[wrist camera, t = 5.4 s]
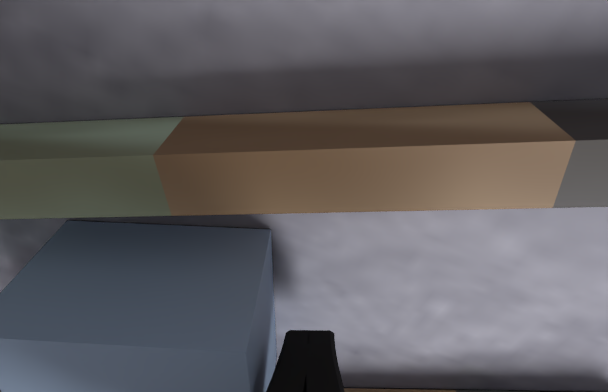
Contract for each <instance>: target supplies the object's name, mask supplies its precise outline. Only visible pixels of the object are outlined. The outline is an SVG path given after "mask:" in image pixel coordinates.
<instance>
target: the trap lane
mask: <svg viewBox="0 0 608 392" xmlns="http://www.w3.org/2000/svg"><path fill="white" fill-rule="evenodd" d="M571 207H608V99H587V100H564V101H540V102H517V103H493V104H470V105H446V106H423V107H399V108H376V109H352V110H329V111H305V112H282V113H258V114H235V115H211V116H188V117H164V118H141V119H117V120H94V121H70V122H47V123H23V124H0V219H42V218H90V217H138V216H186V215H234V214H282V213H330V212H378V211H426V210H475V209H523V208H571ZM344 391H345V392H538V391H478V390H418V389H358V388H344ZM0 392H1V390H0Z"/></svg>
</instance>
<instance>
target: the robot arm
mask: <svg viewBox="0 0 608 392" xmlns="http://www.w3.org/2000/svg"><path fill="white" fill-rule="evenodd" d="M266 392H345V391H344V387H343V384H342V380H341V375H340V371H339V367H338V362H337V356H336V350H335V341H334V333H333V332H331V331H308V330H290V331H288V332H287V333H286V335H285V339H284V343H283V347H282V350H281V353H280V356H279V359H278V362H277V365H276V368H275V370H274V373H273V376H272V378H271V381H270V383H269V385H268V388H267V390H266Z"/></svg>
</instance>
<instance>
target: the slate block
mask: <svg viewBox="0 0 608 392" xmlns="http://www.w3.org/2000/svg"><path fill="white" fill-rule="evenodd" d="M276 358H277V353H276V331H275V309H274V286H273V264H272V242H271V229H248V228H226V227H203V226H181V225H158V224H135V223H113V222H90V221H68V220H67V221H66V222H65V224H64V225H63V226H62V227H61V228H60V229H59V230H58V231H57V232H56V233H55V234H54V235H53V237H52V238H51V239H50V240H49V241H48V242H47V243H46V244H45V245H44V246H43V247H42V248H41V250H40V251H39V252H38V253H37V254H36V255H35V256H34V257H33V258H32V259H31V260H30V261H29V262H28V264H27V265H26V266H25V267H24V268H23V269H22V270H21V271H20V272H19V273H18V274H17V275H16V277H15V278H14V279H13V280H12V281H11V282H10V283H9V284H8V285H7V286H6V287H5V288H4V290H3V291H2V292H1V293H0V390H1V392H266V390H267V388H268V385H269V383H270V381H271V378H272V376H273V373H274V370H275V365H276Z"/></svg>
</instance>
